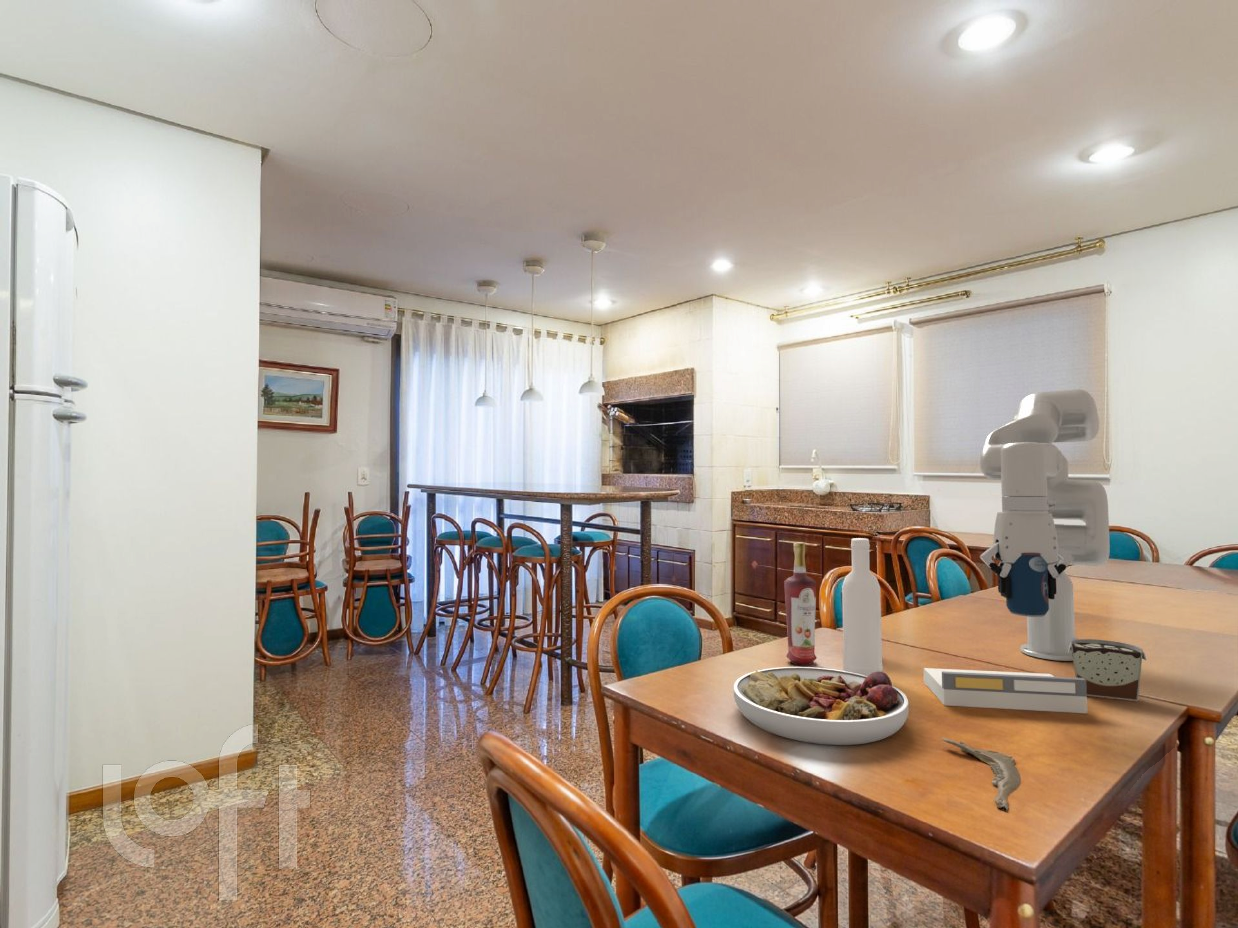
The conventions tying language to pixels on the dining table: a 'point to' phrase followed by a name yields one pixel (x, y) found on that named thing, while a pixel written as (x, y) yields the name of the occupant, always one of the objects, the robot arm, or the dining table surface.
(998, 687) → the display shelf
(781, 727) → the bowl
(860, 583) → the bottle
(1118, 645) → the food container
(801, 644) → the liquor
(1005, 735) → the dining table surface
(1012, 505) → the robot arm
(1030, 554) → the soda can
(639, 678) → the dining table surface
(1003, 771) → the jawbone
